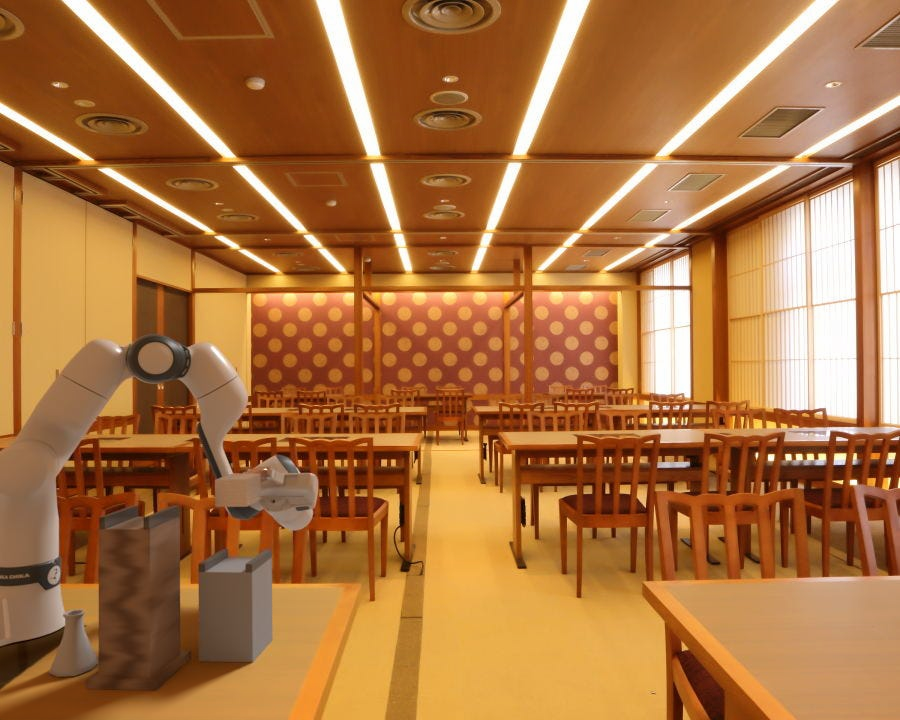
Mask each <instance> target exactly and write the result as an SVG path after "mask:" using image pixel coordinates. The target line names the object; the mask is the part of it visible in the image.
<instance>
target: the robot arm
mask: <svg viewBox="0 0 900 720" xmlns="http://www.w3.org/2000/svg"><path fill="white" fill-rule="evenodd" d="M129 379H135V380H139V381H141V382H143V383H146V384H152V385H153V384H161V383H165V382H169V381H173V380H179V381H180V382H182V383H183V384H184V386H186V387H187V388H188V390H189V391H190V394H191V395H192V396H193V399H195V402H196V403H197V405H198V408H199V413H200V420H199V421H198V423H197V425H196V428H197V434H198V435H197V436H198V439H199V442H200V444H201V446H202V449H203V451H204V454H205V456H206V459H207V462H208V464H209V466H210V469H211V471H212V474H213V476H214V479H215V480H216V479H218V478H221V477H224V476H227V475H229V474H234V472H233V470H232V468H231V464H230V463H229V460H228V458H227V455H226V452H225V450H224V440H225V438H226V436H227V434H228V433H229V432H230V430H231V429H232V428H233V427H234V425H235V424H236V423H237V422H238V421H239V419H240V418H241V416H242V415H243V414H244V412H245V410H246V408H247V405H248V401H249V395H248V391H247V389H246V386H245V384H244V382H243V381H242V378H241V377H240V375H239V374H238V373H237V370H236V369H235V367H234V366H233V365H232V364H231V362H230V361H229V360H228V358H227V357H226V356H225V355H224V354H223V352H222V351H221V350H220V349H219V348H218V347H217V346H216V345H215V344H213V343H212V342H204V341H202V342H197V343H194V344H192V345H190V346H186V345H183V344H182V343H180V342H178V341H176V340H175V339H173V338H171V337H168V336H167V335H163V334H158V333H152V334H151V333H150V334H145V335H143V336H142V335H141V336H140V337H139V338H137V339H136V340H134V341H133V342H132V343H131V342H130V343H129V344H128V345H122V344H118V343H117V342H114V341H112V340H109V339H105V338H95V339H92V340H90V341H89V342H87V343H86V344H85V345H84V346H83V347H82V348H81V349H79V350H78V351H77V352H76V354H75V355H73V357H72V358H70V360H69V361H68V363H67V364H66V365H65V366H64V367H63V369H61V371H60V373H59V374H58V375H57V377H56V378H55V379H54V381H53V382H52V383H51V385H50V386H49V387H48V389H47V390H46V392H45V393H44V394H43V396H42V397H41V399H40V400H39V401H38V402H37V404H36V406H35V407H34V409H33V411H32V412H31V414H30V416H28V418H27V420H26V422H25V423H24V425H23V427H22V428H21V429H20V431H19V432H18V434H17V436H16V437H15V438H14V440H13V441H12V442H11V444H10V445H8V446H6V447H4V448H2V449H1V450H0V647H4V646H6V645H9V644H12V643H17V642H22V641H27V640H32V639H36V638H40V637H43V636H46V635H49V634H52V633H55V632H56V631H58V630H60V629H62V628H63V627H64V628H65V618H64V617H63V614H65V613H66V611H65V607H64V602H63V596H62V590H61V577H62V556H61V555H60V518H59V511H58V510H59V509H58V499H57V498H58V497H57V482H56V481H57V476H58V475H59V474H60V472H61V471H62V470H63V468H64V467H65V465H66V464H67V462H68V460H69V459H70V458H71V456H72V454H73V453H74V452H75V450H76V449H77V447H78V446H79V444H80V443H81V441H82V440H83V438H84V437H85V435H86V434H87V433H88V432H89V430H90V428H91V427H92V426H93V425H94V423H95V421H96V420H97V418H98V417H99V416H100V414H101V412H102V411H103V410H104V408H105V407H106V405H107V404H108V403H109V401H110V400H111V398H112V396H113V395H114V394H115V392H116V391H117V390H118V388H119V387H120V386H121V385H122V384H123V383H124V382H125V381H127V380H129ZM256 467H270V469H266V473H265V477H266V479H268V480H266V481H263V482H261V499H260V500H259V501H257V502H255V503H253V504H251V505H249V506H247V507H224V508H225V510H226V512H227V513H228V514H229V515H230V516H231V517H232V518H233V519H236V520H243V521H245V520H247V521H249V520H251V519H253V518H254V517H255V516H257V514H259V513H261V512H262V510H265V512H267V514H269V515H270V516H271V517H272V518H273V519H274V520H275V522H277V523H278V524H279V525H280V526H282V527H283V528H284V529H286V530H289V531H300V530H302V529H304V528H305V527H307V526H308V525H309V524H310V523H311V521H312V519H313V515H314V510H313V509H315V508H316V506H317V505H316V504H317V501H318V494H319V479H318V476H317V475H316V474H315V473H311V472H300V470H299V469H298V468H297V467H296V465H295V464H294V463H293V461H292V460H291V458H290V457H288V456H285V455H281V454H275V455H273V456H271V457H269V458H268V459H266V460H265V461H262V462H261V463H259V464H258V465H257V466H255V467H253V468H248V469H247V470H246V471H248V470H251V469H254V468H256Z"/></svg>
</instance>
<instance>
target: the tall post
mask: <svg viewBox="0 0 900 720" xmlns="http://www.w3.org/2000/svg"><path fill="white" fill-rule="evenodd" d="M98 517H99V518H98V661H99V662H98V670H97V671H96V672H95V673H93V674H92V675H90V676H89V677H88V678H86V681H85V686H86V687H85V688H86V690H88V689H89V690H91V689H92V690H93V689H94V690H122V691H123V690H125V691H126V690H128V691H129V690H132V691H157V690H158V689H159V688H160V687H162V686H163V685H164V684H165V683H166V682H167V681H168V680H169V679H170V678H171V677H172V676H174V675H175V674H176V673H177V672H178V671H179V670H180V669H181V668H183V667H184V666H185V665H186V664H187V663H188V662H189V661H190V660H192V650H190V649H187V650H186V649H181V553H180V552H181V527H180V526H181V523H180V522H181V521H180V519H181V518H180V505H172V506H169V507H167V508H164V509H162V510H159V511H156V512H153V513H151V514H149V515H146V516H139V505H131V506H128V507H125V508H121V509H119V510H115V511H113V512H111V513H108V514H104V515H101V516H98Z"/></svg>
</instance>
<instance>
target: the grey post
mask: <svg viewBox="0 0 900 720" xmlns="http://www.w3.org/2000/svg"><path fill="white" fill-rule="evenodd" d="M273 640H274V639H273V552H272V549H268V548H267V549H264V550H263V551H261V552H260V553H259V554H257V555H256V556H229V549H227V548H222V549H221V550H219V551H217V552H215V553H214V554H212V555H210V556H209V557H207V558H206V559H204V560H202V561H200V562H199V563H198V662H211V663H213V662H215V663H217V662H218V663H219V662H220V663H254V662H255V661H256V659H257V658H258V657H259V656H260V655H261V653H263V651H264V650H265V649H266V648H267V647H268V646H269V644H271V642H272V641H273Z"/></svg>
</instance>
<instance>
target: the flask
mask: <svg viewBox="0 0 900 720" xmlns="http://www.w3.org/2000/svg"><path fill="white" fill-rule="evenodd" d="M84 614H85V615H86V610H85V609H79V608H78V609H71V610H68V611H65V614H63V617H64V618H65V626H64V629H63V634H62V638H61V641H60V644H59V646H58V649H57V651H56V654H55V656H54V659H53V662H52V664H51V667H50V669H49V671H48V674H49V675H53V676H54V677H58V678H62V677H76V676H78V675H81V674H83V673H86V672H89V671H91V670H93V669H94V667H96V666H97V664H99V658H97V654H96V653H95V651H94V647H92V645H91V641H90V639H89V637H88V634H87V633H86V629H85V624H84V623H85V622H84Z"/></svg>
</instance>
